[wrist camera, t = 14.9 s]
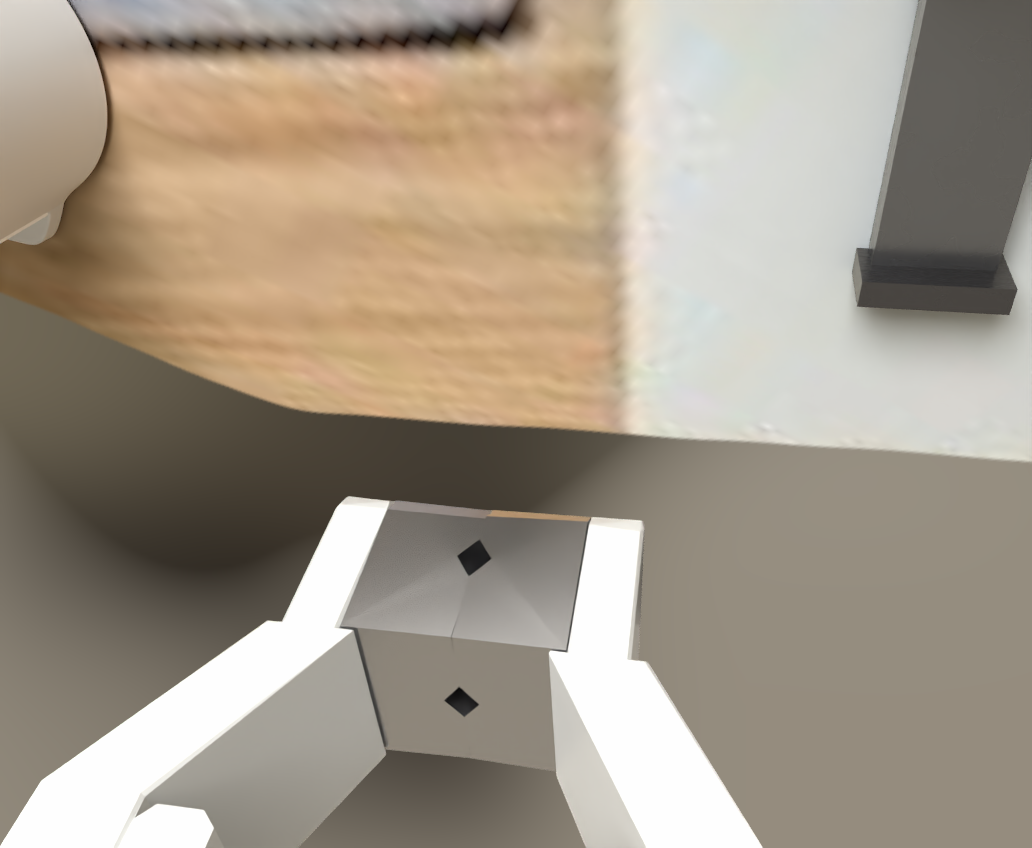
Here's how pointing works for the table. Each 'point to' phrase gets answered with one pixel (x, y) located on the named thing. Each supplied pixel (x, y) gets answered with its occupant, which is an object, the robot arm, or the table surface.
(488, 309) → the table surface
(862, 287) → the rail
